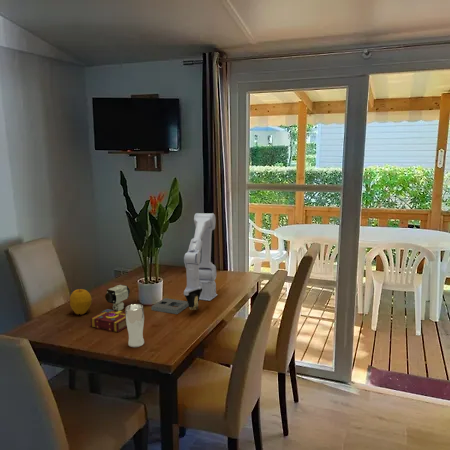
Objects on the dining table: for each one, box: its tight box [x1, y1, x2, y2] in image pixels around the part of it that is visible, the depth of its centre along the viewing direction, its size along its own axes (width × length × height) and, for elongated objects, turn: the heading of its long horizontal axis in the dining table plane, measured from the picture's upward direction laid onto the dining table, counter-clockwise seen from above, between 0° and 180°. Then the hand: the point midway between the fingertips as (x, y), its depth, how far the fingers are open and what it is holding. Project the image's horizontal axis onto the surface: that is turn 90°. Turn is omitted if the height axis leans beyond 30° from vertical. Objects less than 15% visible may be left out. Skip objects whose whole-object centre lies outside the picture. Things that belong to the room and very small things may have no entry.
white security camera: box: [104, 284, 131, 311], centre depth 190 cm, size 6×12×12 cm, turn 149°
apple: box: [69, 288, 93, 315], centre depth 186 cm, size 10×10×12 cm
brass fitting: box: [188, 295, 199, 311], centre depth 186 cm, size 4×4×6 cm
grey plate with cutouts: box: [151, 297, 189, 315], centre depth 192 cm, size 12×14×2 cm
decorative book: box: [89, 308, 127, 333], centre depth 173 cm, size 11×16×5 cm
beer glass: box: [125, 303, 145, 348], centre depth 154 cm, size 7×7×15 cm
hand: (193, 305), depth 186 cm, fingers closed on brass fitting, 4 cm apart
